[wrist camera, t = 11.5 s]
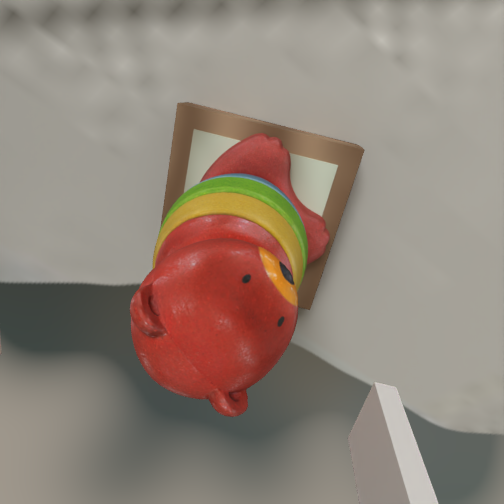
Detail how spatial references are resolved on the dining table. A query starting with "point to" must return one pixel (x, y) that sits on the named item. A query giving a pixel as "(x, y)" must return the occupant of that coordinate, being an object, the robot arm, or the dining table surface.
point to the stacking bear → (227, 277)
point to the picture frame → (301, 171)
